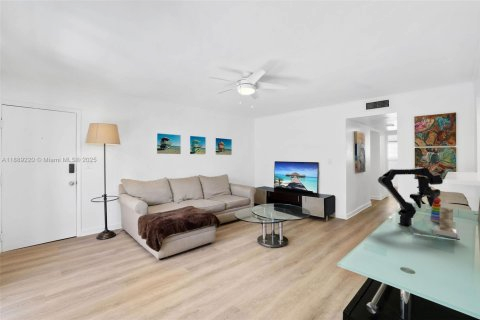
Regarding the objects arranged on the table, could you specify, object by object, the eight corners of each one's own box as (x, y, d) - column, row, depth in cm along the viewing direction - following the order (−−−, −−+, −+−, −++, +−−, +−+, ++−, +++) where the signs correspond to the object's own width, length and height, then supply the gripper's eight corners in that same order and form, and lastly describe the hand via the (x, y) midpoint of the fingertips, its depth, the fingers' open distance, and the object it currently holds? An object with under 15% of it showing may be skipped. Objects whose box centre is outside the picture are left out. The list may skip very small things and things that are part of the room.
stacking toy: (438, 220, 166) (438, 196, 166) (447, 223, 158) (447, 198, 158) (427, 220, 167) (427, 195, 166) (435, 223, 159) (435, 197, 158)
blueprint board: (460, 240, 126) (460, 234, 126) (432, 235, 135) (432, 229, 135) (459, 230, 144) (459, 224, 143) (434, 226, 152) (434, 221, 152)
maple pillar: (439, 228, 136) (439, 207, 135) (443, 227, 138) (443, 207, 137) (449, 231, 131) (449, 209, 131) (452, 229, 133) (452, 208, 133)
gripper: (423, 187, 143) (425, 211, 143) (447, 185, 146) (449, 208, 146) (408, 186, 154) (410, 208, 154) (430, 183, 157) (431, 205, 157)
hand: (425, 207), depth 153 cm, fingers open, 9 cm apart
